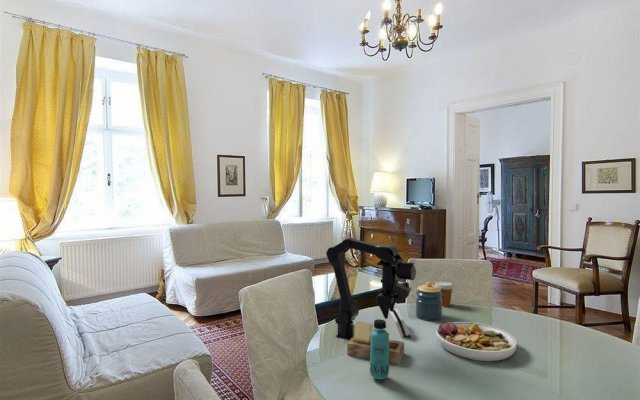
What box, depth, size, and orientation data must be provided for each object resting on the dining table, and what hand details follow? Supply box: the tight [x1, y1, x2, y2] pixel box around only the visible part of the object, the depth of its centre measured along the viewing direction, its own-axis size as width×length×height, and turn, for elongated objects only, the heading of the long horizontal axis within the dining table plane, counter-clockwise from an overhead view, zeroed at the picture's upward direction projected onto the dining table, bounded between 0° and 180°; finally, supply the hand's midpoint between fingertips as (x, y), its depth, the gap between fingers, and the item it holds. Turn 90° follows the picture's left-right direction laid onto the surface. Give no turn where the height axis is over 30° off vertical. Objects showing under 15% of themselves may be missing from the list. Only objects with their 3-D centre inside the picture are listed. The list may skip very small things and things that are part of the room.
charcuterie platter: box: [435, 321, 518, 362], centre depth 150 cm, size 30×30×8 cm
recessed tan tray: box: [346, 335, 405, 365], centre depth 143 cm, size 20×10×4 cm, turn 66°
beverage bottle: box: [369, 318, 390, 380], centre depth 125 cm, size 6×7×20 cm
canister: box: [415, 281, 443, 322], centre depth 184 cm, size 13×13×18 cm
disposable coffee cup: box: [434, 281, 454, 308], centre depth 202 cm, size 10×10×12 cm
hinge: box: [389, 308, 413, 338], centre depth 168 cm, size 17×5×10 cm, turn 1°
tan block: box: [353, 320, 374, 345], centre depth 145 cm, size 6×4×9 cm
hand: (388, 314), depth 150 cm, fingers open, 9 cm apart
